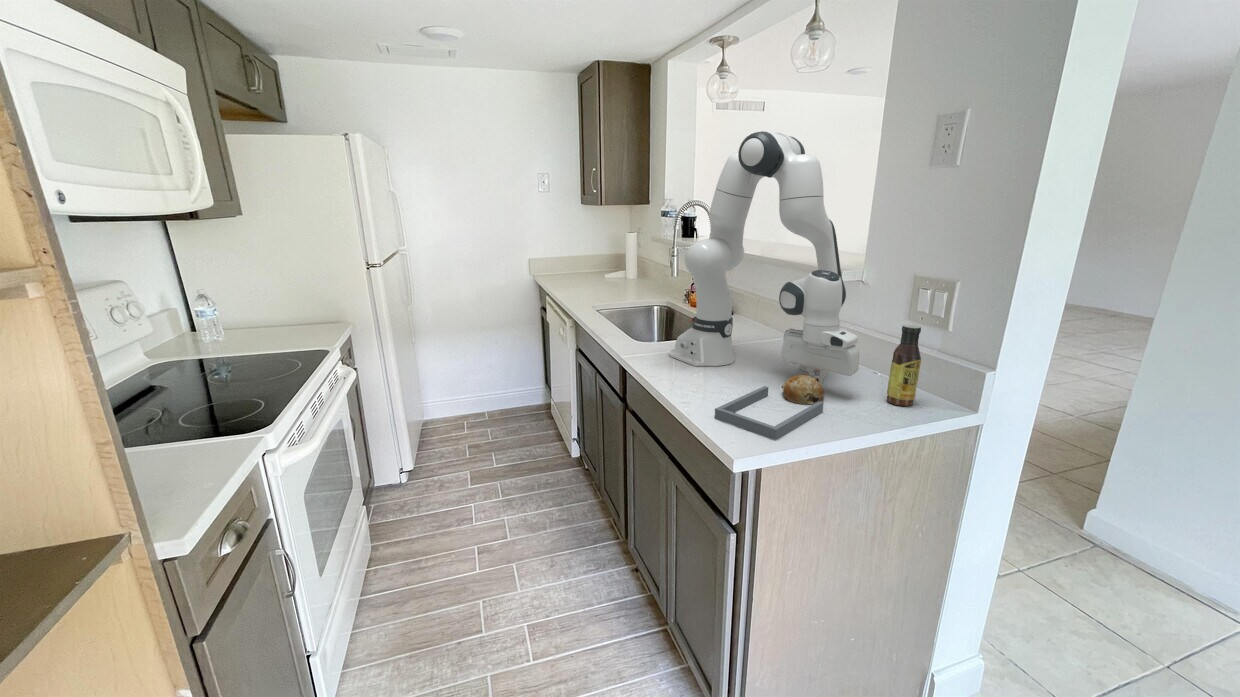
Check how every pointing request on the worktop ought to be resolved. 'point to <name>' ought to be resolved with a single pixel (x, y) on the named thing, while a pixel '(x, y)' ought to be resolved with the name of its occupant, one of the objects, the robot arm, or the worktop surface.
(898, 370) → the sauce bottle
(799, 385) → the bread roll
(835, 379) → the worktop surface
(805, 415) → the slate bay
